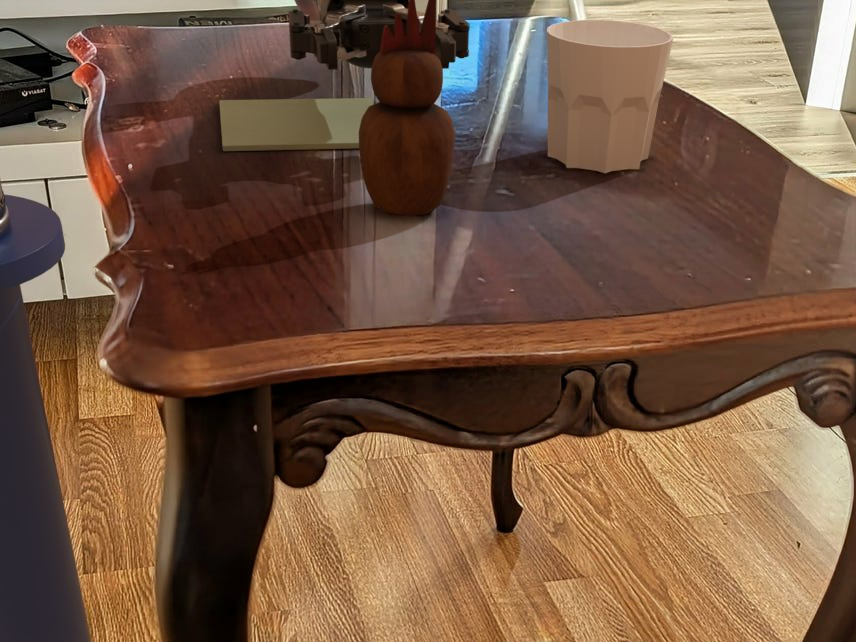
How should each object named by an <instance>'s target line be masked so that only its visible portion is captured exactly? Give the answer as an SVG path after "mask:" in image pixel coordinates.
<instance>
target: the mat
mask: <svg viewBox="0 0 856 642" xmlns="http://www.w3.org/2000/svg"><path fill="white" fill-rule="evenodd" d="M218 101H219V102H218V104H219V117H220V131H221V144H222V152H251V151H252V152H253V151H254V152H255V151H257V152H259V151H261V152H262V151H293V150H294V151H300V150H301V151H303V150H306V151H309V150H347V149H349V150H350V149H351V150H352V149H359V128H360V124H361V120H362V117H363V115H364V113H365V112H366V110H367V109H368V107H369V106H371V105H374V104H375V103H374V101H373V99H372V98H371V97H354V98H353V97H351V98H342V97H341V98H282V99H280V98H279V99H269V98H268V99H220V100H218Z"/></svg>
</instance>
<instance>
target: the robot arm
mask: <svg viewBox="0 0 856 642" xmlns="http://www.w3.org/2000/svg"><path fill="white" fill-rule="evenodd" d="M293 1H294V3H295V4H296V7H297V8H293V9H292V10H289V11H287V12H288V32H289V33H288V34H289V50H290V51H289V52H290V53H289V54H290V58H291V59H295V60H298V61H299V60H302V59H306V58H307V54H312V55H313V59H314V60H316V62H317V63H319V64H320V65H324V64H325V65H326V68H327V70H328V71H333V70H338V67H339V66H338V61H341V62H344V61H346V62H347V63H348V64H350V65H353V66H355V67H358V68H361V69H362V68H363V69H371V68H372V65H373V61H374V58H375V56H376V55H377V54H378V53H379V52H380V47H381V40H382V34H383V29H384V26H385V25H387V26H388V27H389V29H390V31H391V33H392V35H393V31H394V23H395V15H396V13H399V14H400V15H401V20H402V24H403V29H404V34H405V28H406V21H407V13H408V6H409V0H293ZM416 12H417V19H418V25H419V32H420V30H421V26H422V23H423V19H424V15H425V12H422V11H418V10H416ZM470 28H471V24H470V23H469V22H468V21H467V20H466V19H464V18H463V17H462V16H461V15H460V14H458V13H457V12H456V11H455V10H452V9H450V8H445V9H443V10H440V13H438V14H437V19H436V40H435V55H436V56H437V57H438V58H439V59H440V61H441V65H442V69H443V70H445V69H446V70H448V69H449V68H450V64H452V63H453V64H454V63H455V62H456V60H457V58H458V59H465V58H468V57H470V49H469V43H470V40H469V39H470V30H471V29H470ZM4 194H5V192H4V190H3V186H2V181H1V179H0V238H2V237H3V236H4V235H6V234H7V233H8V231H9V230H10V228H11V222H10V217H9V212H8V208H7V206H6V205H5V204H6V202H5V196H4Z"/></svg>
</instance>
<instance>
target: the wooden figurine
mask: <svg viewBox="0 0 856 642" xmlns="http://www.w3.org/2000/svg"><path fill="white" fill-rule="evenodd" d="M416 5H417V4H416V0H409V6H408V13H407V21H406V28H405V34H404V29H403V24H402V20H401V15H400V14H399V13H396V15H395V23H394V31H393V35H392V33H391V31H390V29H389V27H388V26H387V25H385V26H384V29H383V34H382V40H381V47H380V52H379V53H378V54H377V55H376V56H375V58H374V61H373V65H372V68H370V82H371V88H372V91H373V94H374V96H375V98H376V99H377V101H378V102H376V103H373V104H374V105H371V106H369V107H368V109H367V110H366V112H365V113H364V115H363V117H362V120H361V124H360V128H359V148H358V151H359V152H358V153H359V163H360V168H361V173H362V177H363V178H362V179H363V181H364V182H363V183H364V185H365V188H366V191H367V193H368V196H369V198H370V200H371V202H372V203H373V205H374V206H375V207H376V208H377V209H378V210H380V211H383V212H385V213H389V214H393V215H396V216H397V215H398V216H404V217H405V216H406V217H407V216H411V217H412V216H419V215H425V214H430V213H431V212H433V211H435V210H436V209H437V208H438V207H439V206H440V205H441V204H442V203H443V202H442V201H443V199H444V198H445V195H446V193H447V190H448V185H449V182H450V178H451V174H452V168H453V164H454V156H455V155H454V154H455V141H456V139H455V137H456V133H455V127H454V122H453V120H452V118H451V116H450V115H449V113H448V111H447V110H446V109H444V108H443V107H441V106H440V105H438V104H436V102H437V100H438V99H439V98H440V96H441V94H442V90H443V86H444V85H443V83H444V69H442V65H441V61H440V59H439V58H438V57H437V56H436V55H435V40H436V20H437V0H427V4H426V7H425V12H424V13H425V15H424V19H423V23H422V26H421V30H420V32H419V25H418V19H417V12H416V11H417V6H416Z"/></svg>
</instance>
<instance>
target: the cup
mask: <svg viewBox="0 0 856 642" xmlns="http://www.w3.org/2000/svg"><path fill="white" fill-rule="evenodd" d="M673 41H674V36H673V34H672V33H670V32H669V31H668V30H665V29H662V28H660V27H657V26H654V25H653V26H652V25H648V24H644V23H640V22H639V23H638V22H632V21H622V20H612V19H576V20H575V19H574V20H567V21H560V22H557V23H553V24H551V25H549V26H548V27H547V28H546V50H547V52H546V58H547V59H546V61H547V63H546V65H547V157H548V158H552V159H555V160H557V161H558V162H561V163H563V164H564V165H565V168H566V169H582V170H587V171H588V170H589V171H596V172H599V173H602V174H608V173H610V172H615V171H623V170H625V171H626V170H640V167H641V162H642V161H644V160H648V159H649V154H650V149H651V144H652V139H653V135H654V134H653V133H654V129H655V123H656V118H657V111H658V106H659V102H660V97H661V93H662V89H663V85H664V81H665V78H666V77H665V76H666V72H667V67H668V64H669V59H670V54H671V50H672V45H673Z"/></svg>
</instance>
